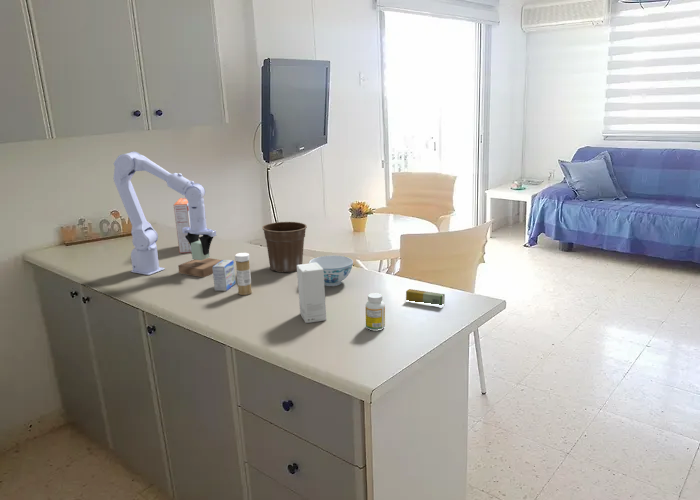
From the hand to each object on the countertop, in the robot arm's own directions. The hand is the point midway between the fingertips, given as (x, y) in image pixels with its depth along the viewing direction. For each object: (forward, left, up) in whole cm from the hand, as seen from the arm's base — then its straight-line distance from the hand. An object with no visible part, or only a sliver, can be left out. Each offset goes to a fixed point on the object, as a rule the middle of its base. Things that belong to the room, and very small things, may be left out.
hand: (201, 253), depth 210 cm
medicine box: (+20, -11, -7) cm, 24 cm away
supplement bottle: (+81, -20, -7) cm, 84 cm away
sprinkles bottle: (+30, -13, -7) cm, 33 cm away
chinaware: (+51, +8, -7) cm, 52 cm away
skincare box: (+61, -21, -7) cm, 65 cm away
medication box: (+87, +3, -7) cm, 87 cm away
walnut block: (0, 0, -7) cm, 7 cm away
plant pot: (+27, +16, -7) cm, 32 cm away
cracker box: (-27, +21, -7) cm, 35 cm away
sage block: (0, 0, -2) cm, 2 cm away
